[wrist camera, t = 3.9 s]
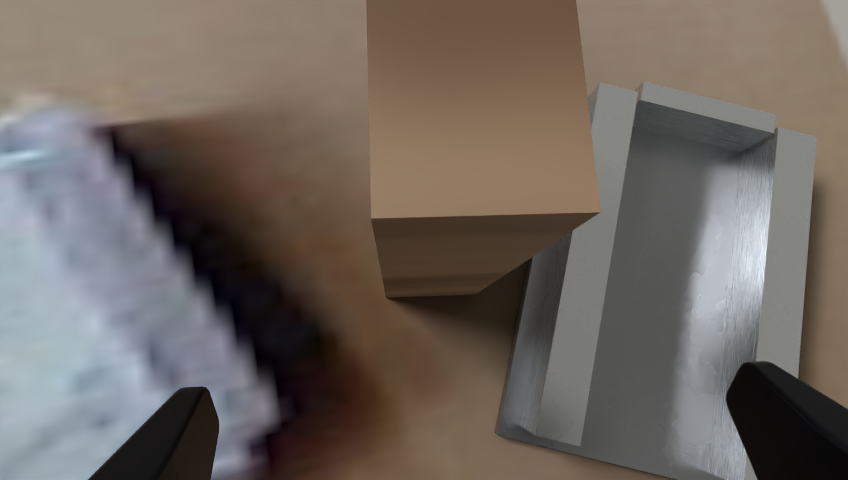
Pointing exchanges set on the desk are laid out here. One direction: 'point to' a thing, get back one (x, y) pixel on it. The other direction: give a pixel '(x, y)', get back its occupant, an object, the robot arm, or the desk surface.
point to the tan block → (474, 138)
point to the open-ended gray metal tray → (665, 286)
